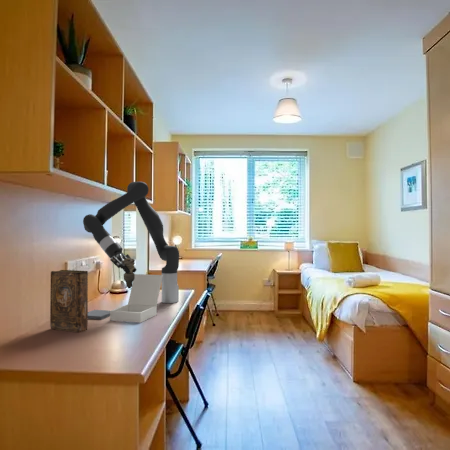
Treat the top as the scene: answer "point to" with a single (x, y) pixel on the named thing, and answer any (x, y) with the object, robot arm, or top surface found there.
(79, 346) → the top surface
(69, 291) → the book
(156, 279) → the box
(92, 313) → the mat
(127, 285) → the twisted stone column
